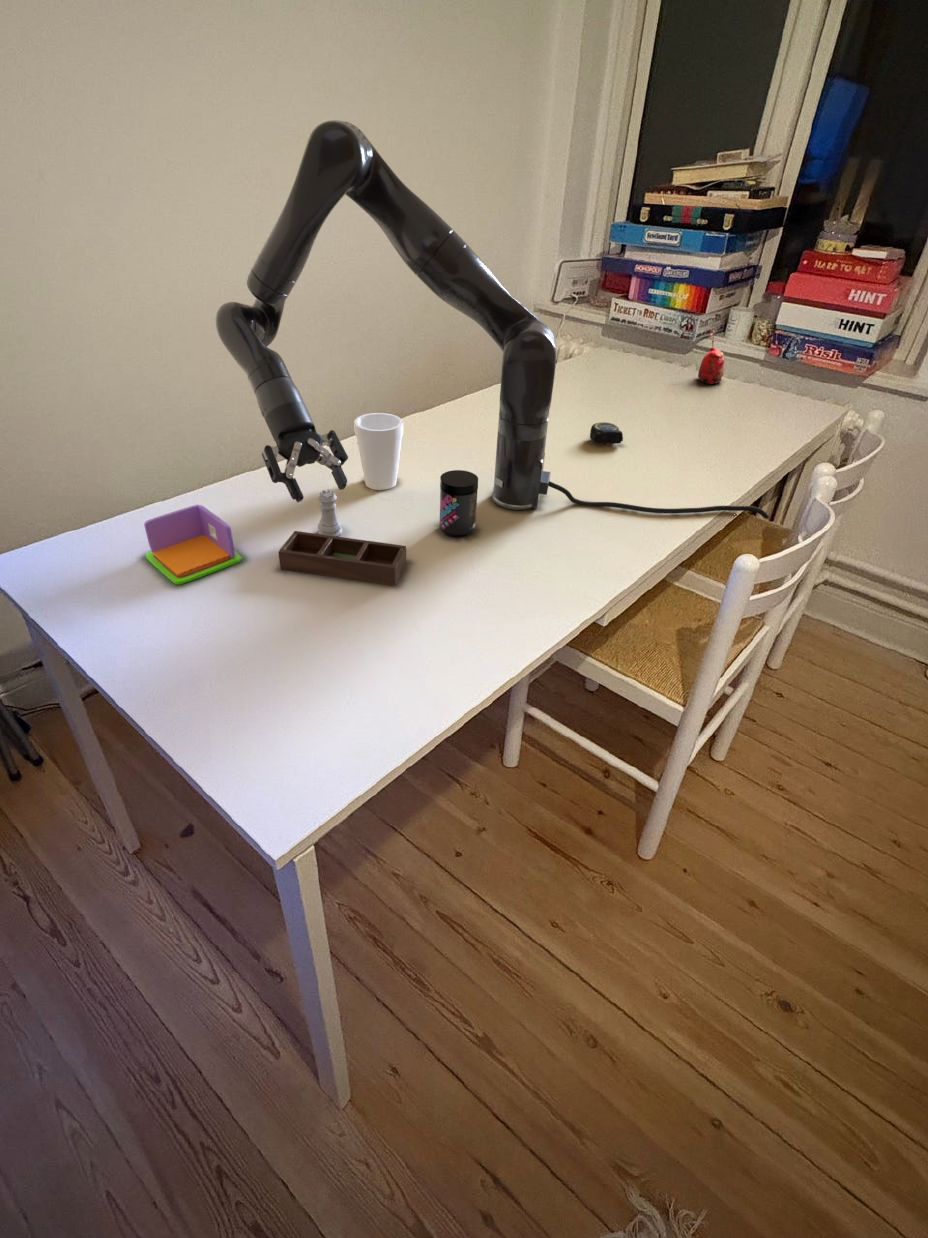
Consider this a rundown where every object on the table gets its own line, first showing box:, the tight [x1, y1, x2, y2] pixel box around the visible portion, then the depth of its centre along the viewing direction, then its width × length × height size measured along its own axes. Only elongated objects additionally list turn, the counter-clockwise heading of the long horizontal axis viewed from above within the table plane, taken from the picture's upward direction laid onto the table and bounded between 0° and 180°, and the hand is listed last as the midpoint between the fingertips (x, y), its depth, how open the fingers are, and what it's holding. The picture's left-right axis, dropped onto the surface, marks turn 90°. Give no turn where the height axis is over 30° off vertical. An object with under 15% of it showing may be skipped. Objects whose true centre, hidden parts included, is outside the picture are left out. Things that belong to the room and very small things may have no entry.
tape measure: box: [589, 421, 624, 446], centre depth 164 cm, size 7×7×4 cm
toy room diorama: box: [143, 504, 242, 586], centre depth 114 cm, size 12×12×7 cm
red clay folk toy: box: [697, 326, 725, 385], centre depth 201 cm, size 8×7×15 cm
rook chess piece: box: [317, 489, 344, 537], centre depth 123 cm, size 4×4×8 cm
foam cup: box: [353, 412, 404, 491], centre depth 138 cm, size 10×9×13 cm
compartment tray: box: [277, 530, 407, 587], centre depth 115 cm, size 7×20×4 cm, turn 79°
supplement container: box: [438, 469, 479, 539], centre depth 125 cm, size 7×7×10 cm
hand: (322, 494), depth 122 cm, fingers open, 8 cm apart
